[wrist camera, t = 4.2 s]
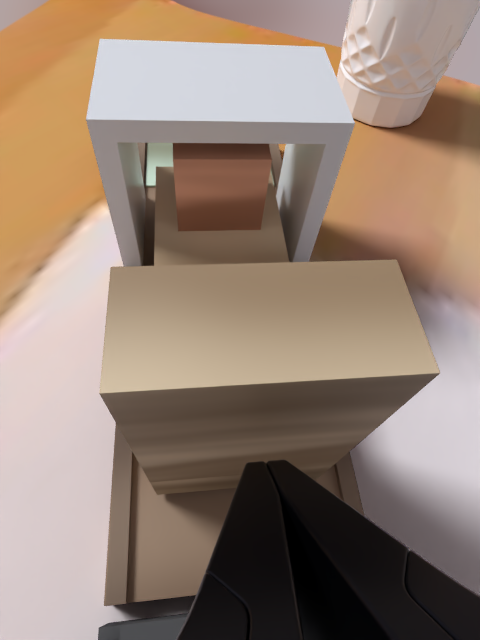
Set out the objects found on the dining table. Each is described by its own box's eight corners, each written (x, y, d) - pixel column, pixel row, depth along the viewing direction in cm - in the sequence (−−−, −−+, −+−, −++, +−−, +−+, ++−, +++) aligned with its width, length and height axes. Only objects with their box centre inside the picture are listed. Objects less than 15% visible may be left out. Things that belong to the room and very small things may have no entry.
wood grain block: (315, 480, 15) (440, 373, 7) (157, 494, 14) (99, 393, 6) (264, 200, 22) (296, -1, 15) (160, 201, 22) (135, -8, 14)
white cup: (392, 148, 28) (473, -37, 20) (304, 97, 31) (342, -86, 22) (447, 107, 31) (537, -67, 23) (363, 64, 34) (416, -106, 25)
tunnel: (306, 267, 20) (354, 123, 14) (125, 273, 19) (86, 119, 13) (289, 196, 23) (323, 47, 17) (130, 197, 22) (100, 38, 16)
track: (367, 574, 14) (380, 573, 13) (110, 604, 13) (101, 606, 12) (273, 147, 27) (276, 129, 26) (137, 146, 26) (134, 127, 25)
